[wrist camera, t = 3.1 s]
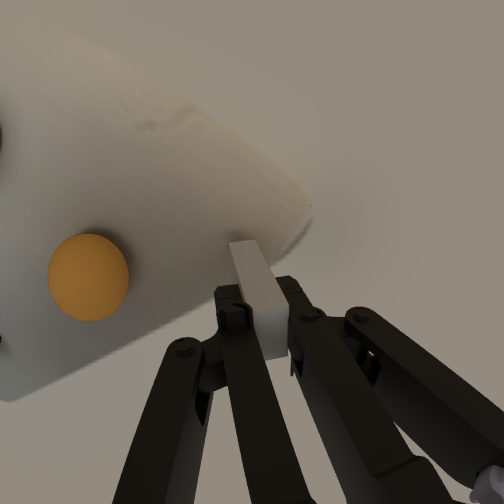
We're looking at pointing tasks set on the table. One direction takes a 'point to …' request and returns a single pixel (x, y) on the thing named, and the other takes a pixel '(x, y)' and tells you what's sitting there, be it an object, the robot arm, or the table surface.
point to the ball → (88, 277)
